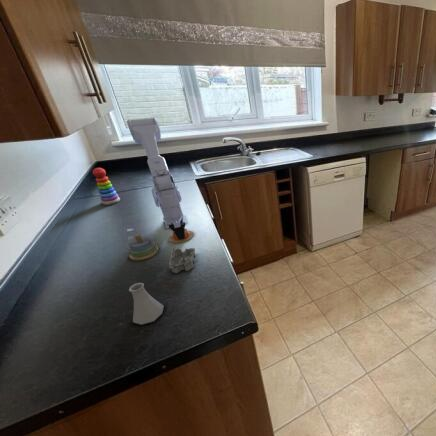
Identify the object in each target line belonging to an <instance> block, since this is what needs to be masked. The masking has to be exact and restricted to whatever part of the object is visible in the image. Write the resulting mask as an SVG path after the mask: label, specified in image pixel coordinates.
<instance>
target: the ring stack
mask: <svg viewBox="0 0 436 436" xmlns="http://www.w3.org/2000/svg"><path fill="white" fill-rule="evenodd" d="M128 246H129V248H128V252H129V254H128V255H129V259H130V260H131V261H134V262H138V261H144V260H147V259H150V258H153V257H154V256H155V255H156V254H158V253H159V250H160V248H159V246H158V245H157V244H156V243H155V241H152V240H151V237H149V236H141V234H138V233H137V234H135V235H134V239H132V240H131V241H130V242H129V243H128Z"/></svg>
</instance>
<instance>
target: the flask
mask: <svg viewBox="0 0 436 436" xmlns="http://www.w3.org/2000/svg"><path fill="white" fill-rule="evenodd" d="M144 286H145V283H143V282H137V283H133V284H132V285H130V286H129V289H128V292H129V293H131V295H132V299H133V313H132V323H134V324H137V325H140V326H142V325H145V324H149V323H152V322H155V321H156V320H157V319H158V318H159V317H160V316H161V315H162V314H163V311H164V307H165V306H164V304H162V303H160V302H159V301H158V300H157V299H155V298H154V297H152V296H151V295H150V294H149V292H148V291H147V290H146V289H145V287H144Z"/></svg>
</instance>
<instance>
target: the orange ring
mask: <svg viewBox="0 0 436 436" xmlns="http://www.w3.org/2000/svg"><path fill="white" fill-rule="evenodd" d="M188 231H189V230H188V228H184V233H185V238H187V237H188V236H189V234H188ZM172 235H173V237H174V239H175V240H179V239H178V238H177V236H176V234H175V233H174V232H173V231H172ZM185 238H184V239H185Z"/></svg>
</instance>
